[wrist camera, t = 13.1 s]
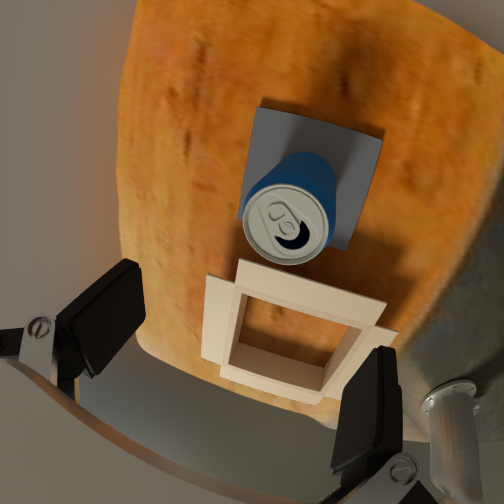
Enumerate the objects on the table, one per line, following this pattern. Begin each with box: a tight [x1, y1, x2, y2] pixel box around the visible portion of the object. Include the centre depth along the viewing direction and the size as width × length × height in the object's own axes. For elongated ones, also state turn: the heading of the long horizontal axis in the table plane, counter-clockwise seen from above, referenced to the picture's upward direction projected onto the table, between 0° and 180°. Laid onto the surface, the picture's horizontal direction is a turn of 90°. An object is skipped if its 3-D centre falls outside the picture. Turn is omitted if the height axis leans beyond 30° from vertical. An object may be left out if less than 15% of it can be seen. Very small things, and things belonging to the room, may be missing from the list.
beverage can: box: [243, 152, 336, 265], centre depth 22 cm, size 6×6×12 cm
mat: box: [237, 107, 383, 251], centre depth 28 cm, size 13×13×1 cm
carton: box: [201, 258, 398, 405], centre depth 37 cm, size 24×24×5 cm
